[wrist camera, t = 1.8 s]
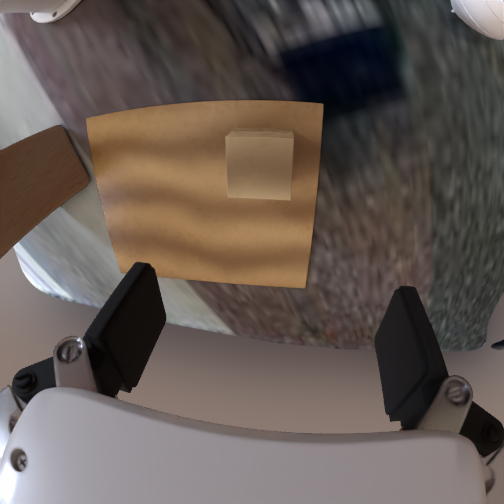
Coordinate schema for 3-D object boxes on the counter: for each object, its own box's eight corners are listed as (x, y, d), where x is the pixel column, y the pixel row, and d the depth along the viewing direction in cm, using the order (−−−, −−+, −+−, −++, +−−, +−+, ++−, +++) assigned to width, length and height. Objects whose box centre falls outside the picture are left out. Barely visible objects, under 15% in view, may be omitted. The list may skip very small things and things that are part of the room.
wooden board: (86, 118, 28) (85, 118, 28) (323, 103, 25) (323, 103, 25) (121, 271, 42) (121, 272, 41) (304, 287, 39) (304, 288, 39)
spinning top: (428, 32, 18) (493, 21, 8) (418, -24, 14) (472, -54, 4) (480, 48, 17) (548, 53, 7) (471, -6, 13) (533, -18, 3)
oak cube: (234, 127, 28) (225, 136, 24) (292, 129, 27) (294, 138, 23) (236, 180, 31) (227, 197, 27) (290, 182, 31) (290, 200, 26)
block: (63, 120, 28) (-59, 181, 12) (94, 180, 33) (-12, 271, 17) (29, 155, 31) (-68, 220, 15) (57, 207, 36) (-30, 289, 20)
